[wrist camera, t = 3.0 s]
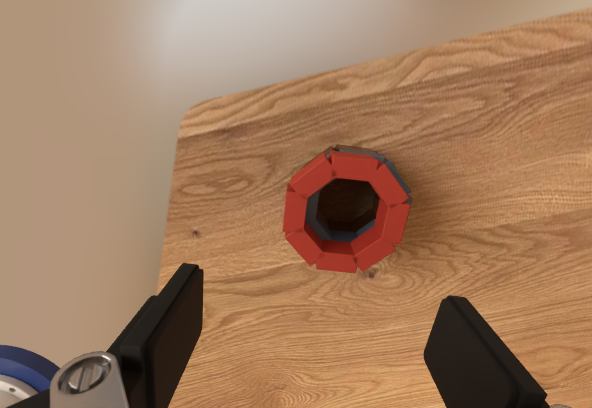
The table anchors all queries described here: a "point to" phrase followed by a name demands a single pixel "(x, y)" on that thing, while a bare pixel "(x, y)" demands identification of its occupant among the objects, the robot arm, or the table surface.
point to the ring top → (369, 243)
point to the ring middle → (338, 235)
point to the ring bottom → (362, 220)
